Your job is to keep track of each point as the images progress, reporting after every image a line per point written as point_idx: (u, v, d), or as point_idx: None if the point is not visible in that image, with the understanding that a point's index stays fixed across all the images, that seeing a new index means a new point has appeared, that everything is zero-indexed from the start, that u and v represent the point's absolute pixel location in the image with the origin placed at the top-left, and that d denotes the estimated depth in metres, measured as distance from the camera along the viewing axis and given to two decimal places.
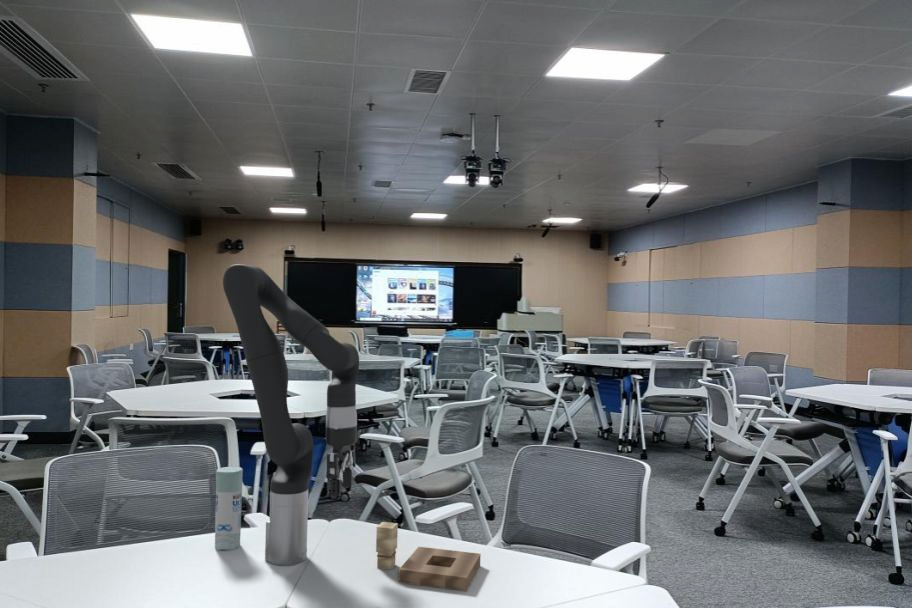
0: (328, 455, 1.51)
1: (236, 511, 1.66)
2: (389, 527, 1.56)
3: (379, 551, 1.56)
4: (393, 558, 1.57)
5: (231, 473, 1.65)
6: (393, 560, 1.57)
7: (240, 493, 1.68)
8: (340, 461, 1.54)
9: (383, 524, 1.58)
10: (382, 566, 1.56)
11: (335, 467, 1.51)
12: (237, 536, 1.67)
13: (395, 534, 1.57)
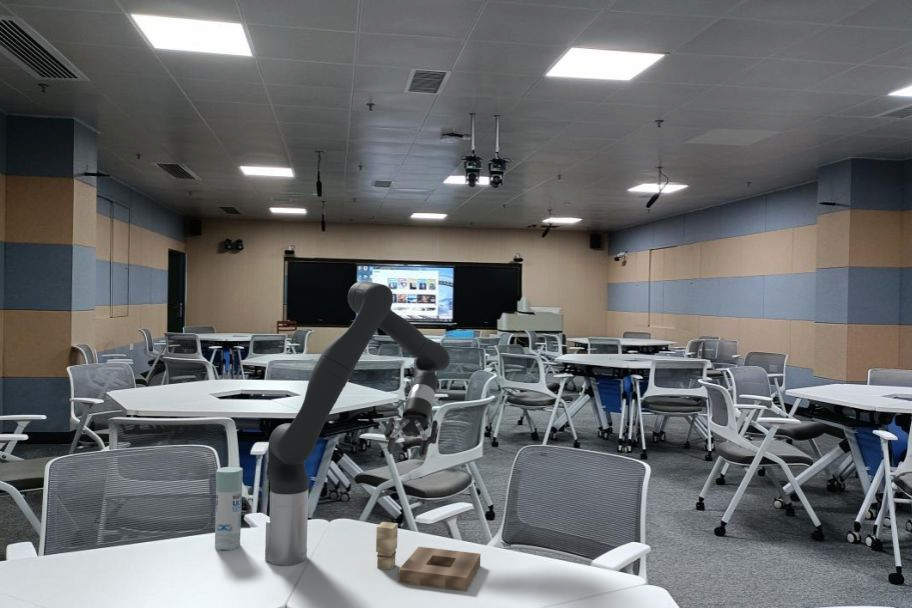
0: (437, 422, 1.74)
1: (236, 511, 1.66)
2: (389, 527, 1.56)
3: (379, 551, 1.56)
4: (393, 558, 1.57)
5: (231, 473, 1.65)
6: (393, 560, 1.57)
7: (240, 493, 1.68)
8: (423, 431, 1.75)
9: (383, 524, 1.58)
10: (382, 566, 1.56)
11: (437, 434, 1.74)
12: (237, 536, 1.67)
13: (395, 534, 1.57)
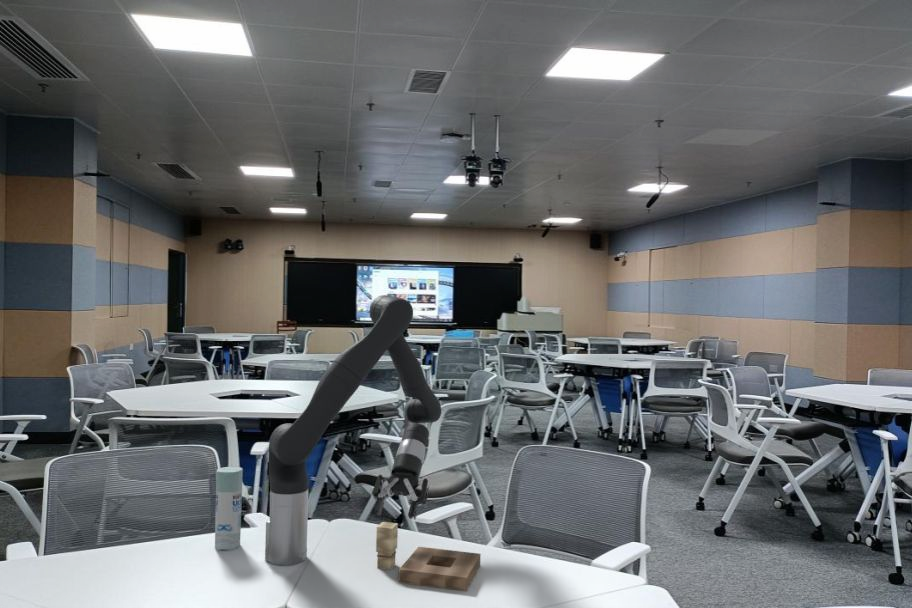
0: (427, 481, 1.67)
1: (236, 511, 1.66)
2: (389, 527, 1.56)
3: (379, 551, 1.56)
4: (393, 558, 1.57)
5: (231, 473, 1.65)
6: (393, 560, 1.57)
7: (240, 493, 1.68)
8: (413, 490, 1.67)
9: (383, 524, 1.58)
10: (382, 566, 1.56)
11: (427, 494, 1.66)
12: (237, 536, 1.67)
13: (395, 534, 1.57)
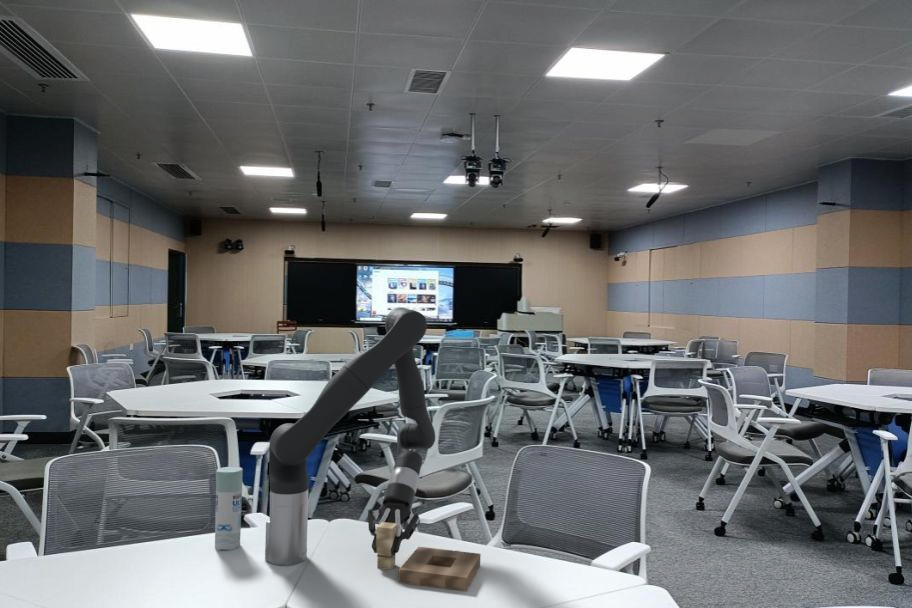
0: (418, 517, 1.60)
1: (236, 511, 1.66)
2: (389, 527, 1.56)
3: (379, 551, 1.56)
4: (393, 558, 1.57)
5: (231, 473, 1.65)
6: (393, 560, 1.57)
7: (240, 493, 1.68)
8: (402, 523, 1.61)
9: (383, 524, 1.58)
10: (382, 566, 1.56)
11: (414, 530, 1.59)
12: (237, 536, 1.67)
13: (395, 534, 1.57)
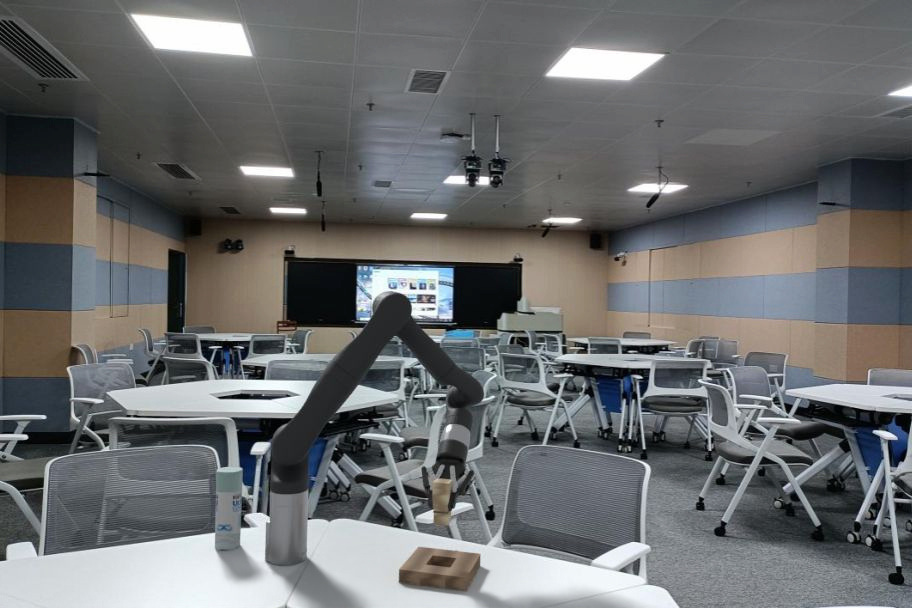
0: (473, 473, 1.56)
1: (236, 511, 1.66)
2: (445, 482, 1.52)
3: (435, 507, 1.52)
4: (449, 514, 1.54)
5: (231, 473, 1.65)
6: (449, 516, 1.54)
7: (240, 493, 1.68)
8: (457, 480, 1.57)
9: (438, 480, 1.54)
10: (438, 522, 1.52)
11: (469, 486, 1.56)
12: (237, 536, 1.67)
13: (451, 490, 1.54)
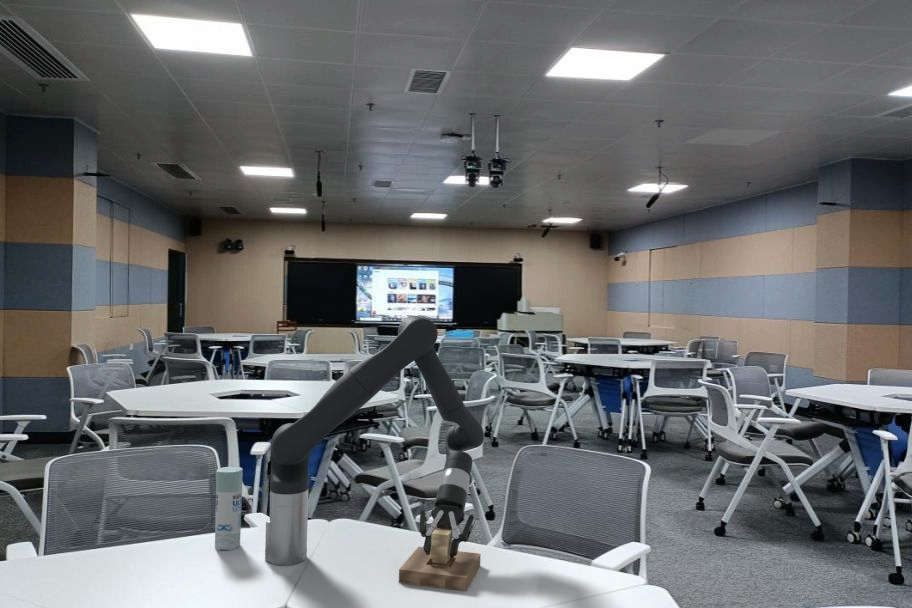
0: (473, 518, 1.56)
1: (236, 511, 1.66)
2: (444, 534, 1.52)
3: (434, 558, 1.52)
4: (448, 565, 1.53)
5: (231, 473, 1.65)
6: None
7: (240, 493, 1.68)
8: (457, 525, 1.57)
9: (437, 530, 1.54)
10: None
11: (470, 531, 1.56)
12: (237, 536, 1.67)
13: (450, 541, 1.53)
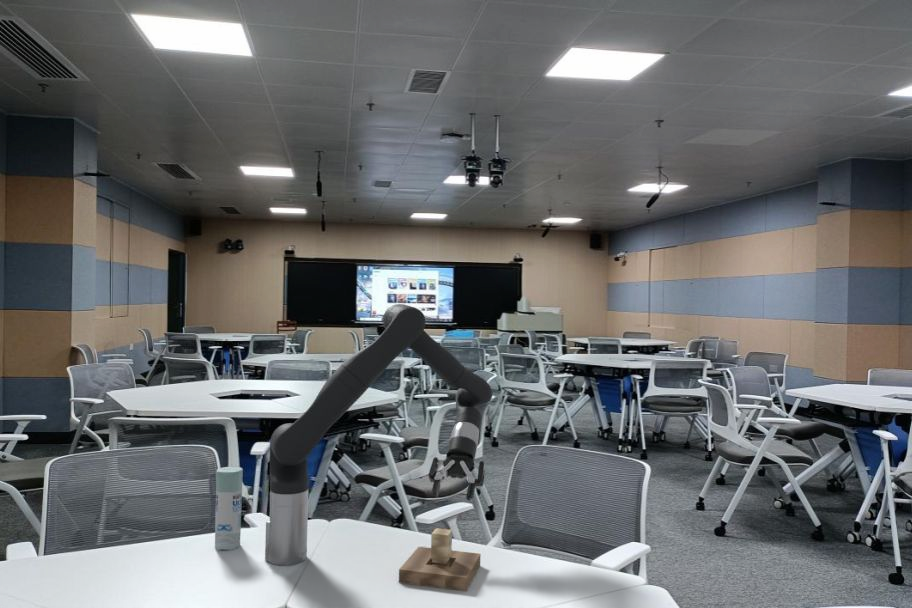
0: None
1: (236, 511, 1.66)
2: (444, 534, 1.52)
3: (434, 558, 1.52)
4: (448, 565, 1.53)
5: (231, 473, 1.65)
6: None
7: (240, 493, 1.68)
8: (469, 472, 1.67)
9: (437, 530, 1.54)
10: None
11: None
12: (237, 536, 1.67)
13: (450, 541, 1.53)
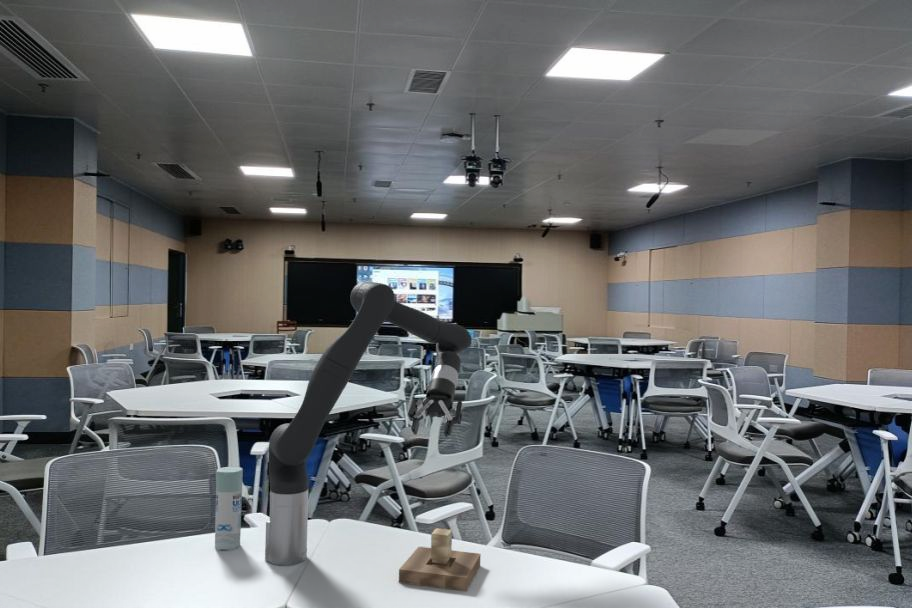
0: (461, 402, 1.72)
1: (236, 511, 1.66)
2: (444, 534, 1.52)
3: (434, 558, 1.52)
4: (448, 565, 1.53)
5: (231, 473, 1.65)
6: None
7: (240, 493, 1.68)
8: None
9: (437, 530, 1.54)
10: None
11: (461, 415, 1.71)
12: (237, 536, 1.67)
13: (450, 541, 1.53)
